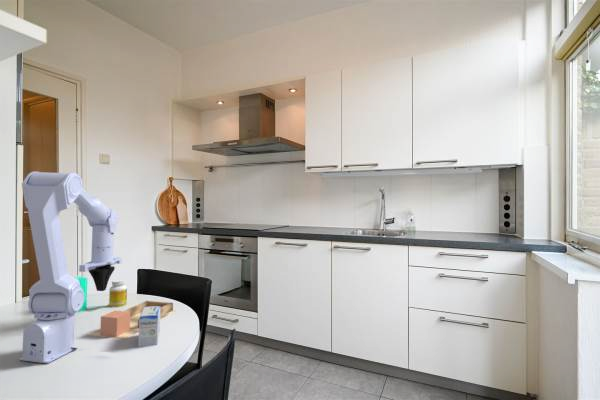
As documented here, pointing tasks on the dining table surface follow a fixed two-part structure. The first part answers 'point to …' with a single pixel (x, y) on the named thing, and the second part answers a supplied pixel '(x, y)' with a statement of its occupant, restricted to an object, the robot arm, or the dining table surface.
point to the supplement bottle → (118, 293)
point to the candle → (84, 287)
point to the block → (115, 323)
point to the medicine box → (149, 326)
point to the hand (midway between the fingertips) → (101, 290)
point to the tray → (135, 316)
